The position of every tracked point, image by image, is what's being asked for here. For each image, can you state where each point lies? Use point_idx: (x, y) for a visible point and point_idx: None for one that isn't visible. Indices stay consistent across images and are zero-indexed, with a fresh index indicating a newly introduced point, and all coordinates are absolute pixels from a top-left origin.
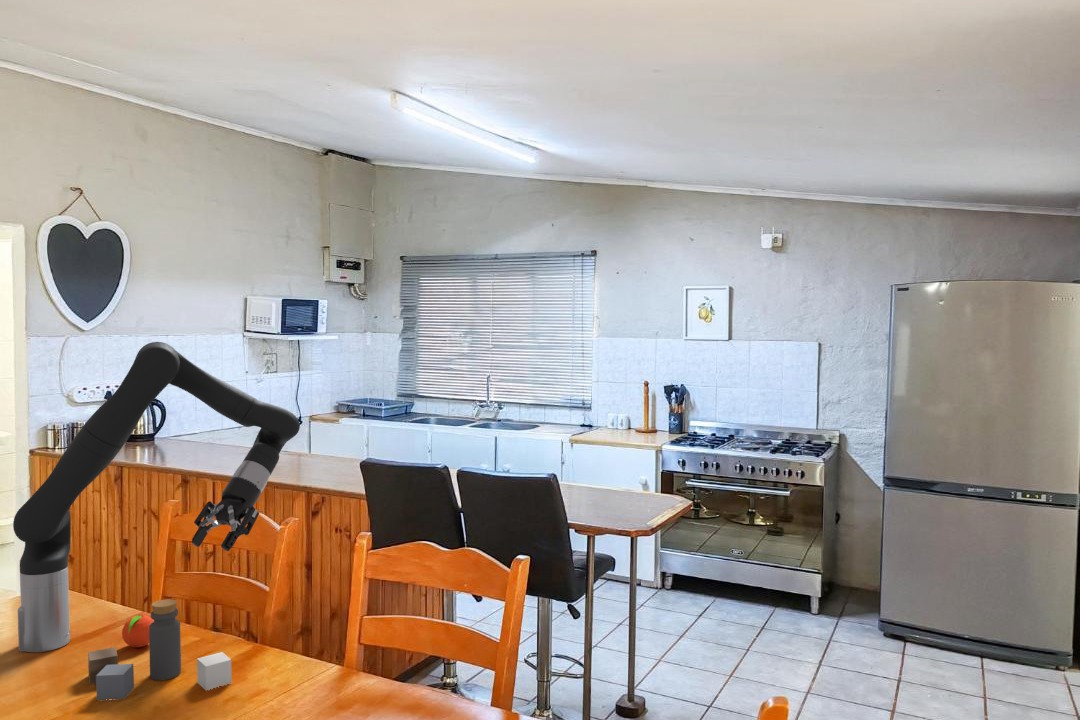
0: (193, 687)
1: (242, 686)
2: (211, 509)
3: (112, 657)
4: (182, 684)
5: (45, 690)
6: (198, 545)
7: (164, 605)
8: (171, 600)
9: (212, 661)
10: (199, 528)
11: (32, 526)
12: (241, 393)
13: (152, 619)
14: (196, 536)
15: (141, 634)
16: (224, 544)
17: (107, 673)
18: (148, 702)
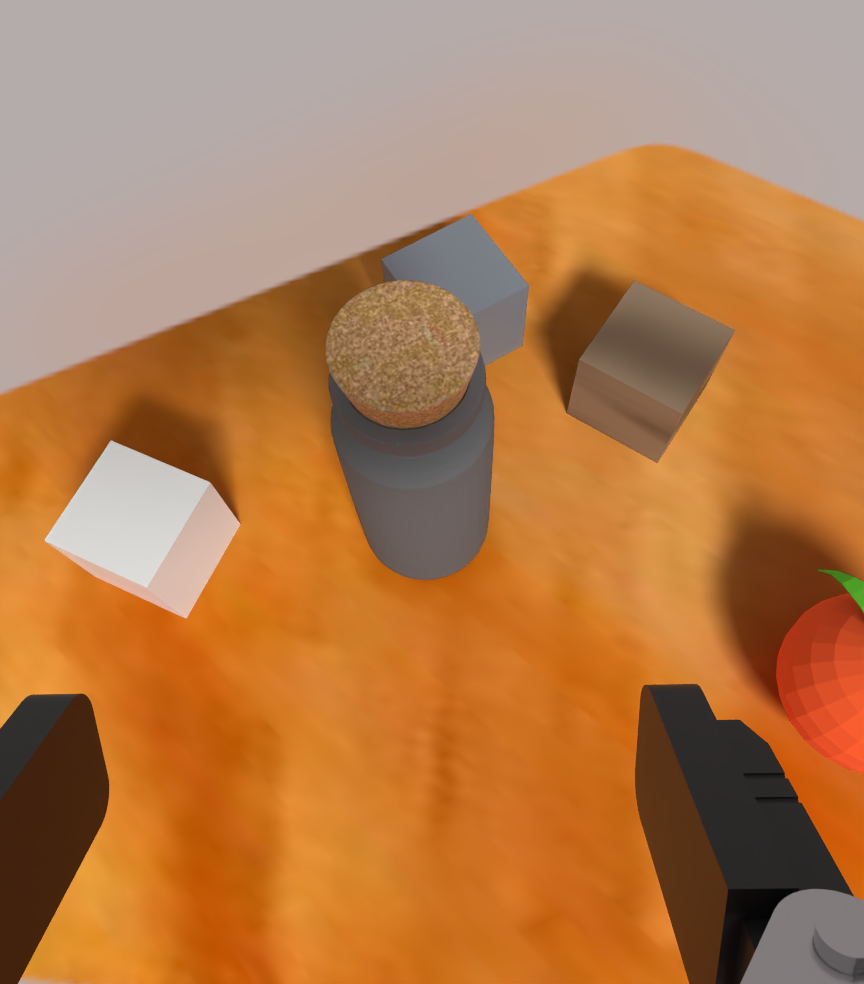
0: (222, 486)
1: (33, 575)
2: None
3: (589, 347)
4: (285, 486)
5: (715, 254)
6: (638, 783)
7: (358, 311)
8: (394, 389)
9: (117, 489)
10: (783, 865)
11: None
12: None
13: None
14: (679, 738)
15: (792, 633)
16: (18, 708)
17: (449, 241)
18: (289, 340)
